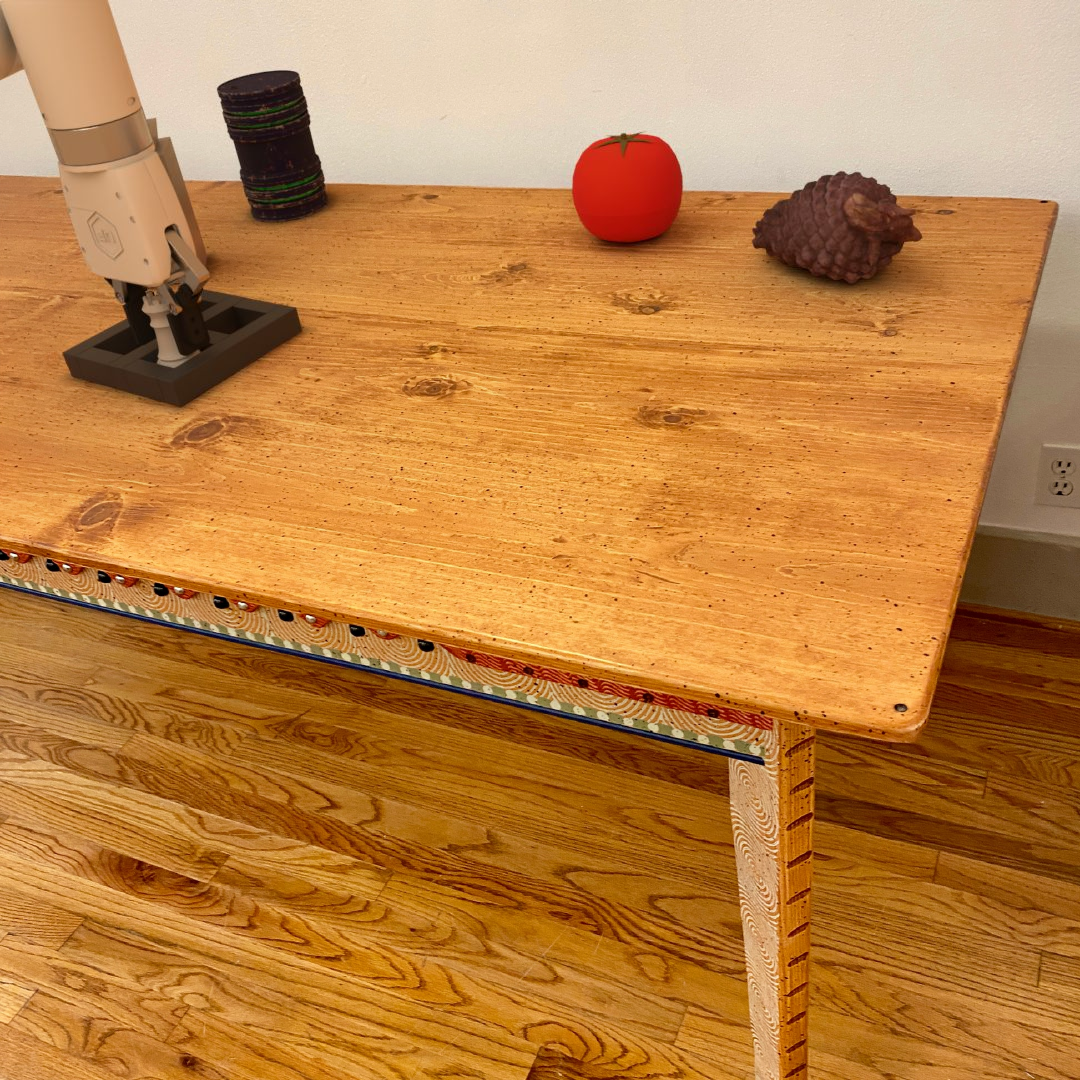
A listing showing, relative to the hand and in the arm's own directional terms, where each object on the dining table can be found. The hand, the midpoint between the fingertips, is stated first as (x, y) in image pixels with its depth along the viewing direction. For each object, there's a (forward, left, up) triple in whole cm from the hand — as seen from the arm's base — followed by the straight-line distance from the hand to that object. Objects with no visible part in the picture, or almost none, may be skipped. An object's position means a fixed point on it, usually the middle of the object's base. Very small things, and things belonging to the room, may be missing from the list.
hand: (173, 342), depth 98 cm
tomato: (+24, +41, -4) cm, 48 cm away
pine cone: (+47, +39, -4) cm, 61 cm away
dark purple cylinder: (-23, +37, -4) cm, 44 cm away
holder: (-3, +3, -3) cm, 6 cm away
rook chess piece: (0, 0, -4) cm, 4 cm away
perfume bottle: (-21, +17, -4) cm, 28 cm away
